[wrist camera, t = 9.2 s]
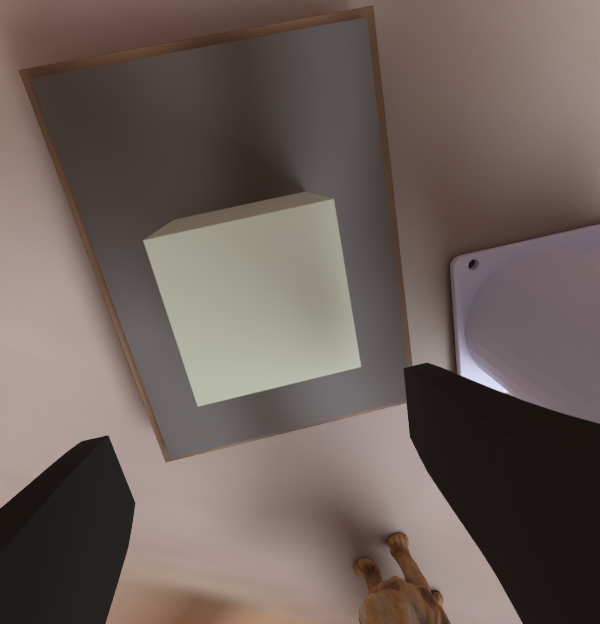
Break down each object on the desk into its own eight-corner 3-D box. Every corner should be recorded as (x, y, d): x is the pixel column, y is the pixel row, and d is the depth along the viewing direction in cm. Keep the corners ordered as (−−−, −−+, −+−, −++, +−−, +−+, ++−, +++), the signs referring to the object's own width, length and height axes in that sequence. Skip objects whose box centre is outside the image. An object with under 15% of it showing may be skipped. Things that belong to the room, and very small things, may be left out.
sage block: (305, 191, 15) (334, 198, 11) (328, 313, 17) (361, 366, 12) (173, 219, 15) (143, 240, 10) (210, 341, 17) (197, 406, 12)
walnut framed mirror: (356, 26, 16) (376, 1, 14) (400, 379, 21) (419, 404, 19) (47, 83, 15) (12, 67, 13) (173, 434, 21) (164, 468, 18)
